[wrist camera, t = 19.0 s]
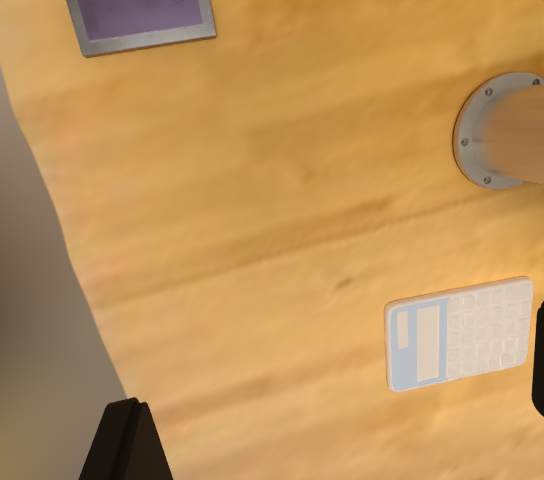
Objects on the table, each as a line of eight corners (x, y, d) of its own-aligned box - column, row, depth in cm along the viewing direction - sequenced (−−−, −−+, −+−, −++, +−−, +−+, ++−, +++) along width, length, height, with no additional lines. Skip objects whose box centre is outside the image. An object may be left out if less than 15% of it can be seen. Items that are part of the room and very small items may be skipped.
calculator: (518, 358, 54) (528, 366, 52) (384, 387, 52) (391, 397, 50) (525, 272, 50) (537, 278, 48) (381, 300, 48) (388, 308, 46)
